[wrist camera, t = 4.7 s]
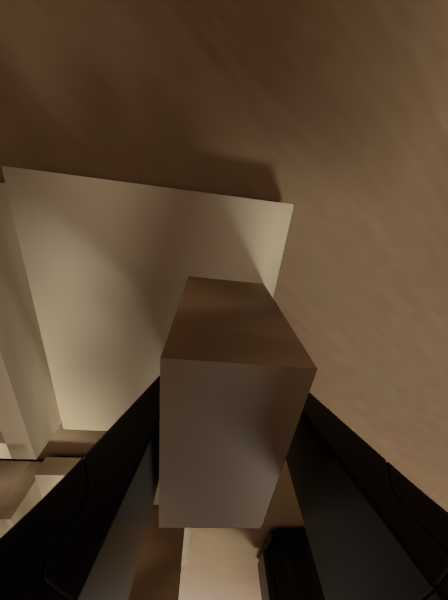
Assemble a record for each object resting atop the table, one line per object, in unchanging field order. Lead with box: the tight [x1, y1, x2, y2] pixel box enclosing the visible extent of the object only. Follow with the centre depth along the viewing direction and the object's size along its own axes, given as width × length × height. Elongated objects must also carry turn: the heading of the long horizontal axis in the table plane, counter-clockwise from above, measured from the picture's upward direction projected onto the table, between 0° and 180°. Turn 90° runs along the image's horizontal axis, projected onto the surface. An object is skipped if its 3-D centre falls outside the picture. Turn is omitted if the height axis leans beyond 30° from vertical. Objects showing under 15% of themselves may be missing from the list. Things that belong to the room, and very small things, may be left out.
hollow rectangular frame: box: [0, 457, 191, 600], centre depth 13 cm, size 20×12×6 cm, turn 83°
